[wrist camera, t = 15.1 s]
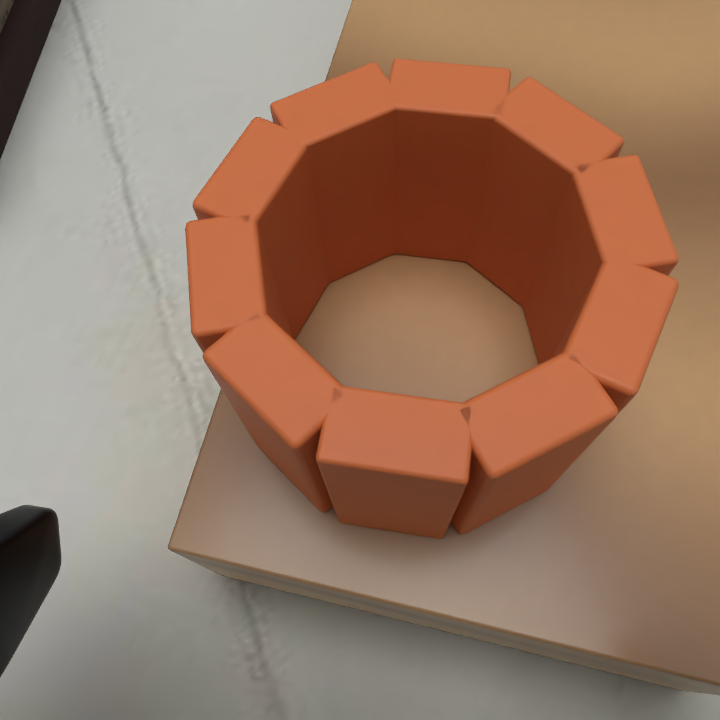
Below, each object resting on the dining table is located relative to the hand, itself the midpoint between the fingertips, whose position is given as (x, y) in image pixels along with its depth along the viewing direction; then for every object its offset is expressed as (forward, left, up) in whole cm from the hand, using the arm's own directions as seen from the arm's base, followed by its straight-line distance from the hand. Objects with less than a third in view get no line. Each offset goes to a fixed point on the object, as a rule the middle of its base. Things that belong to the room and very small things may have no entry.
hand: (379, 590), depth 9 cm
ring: (+3, -3, -2) cm, 5 cm away
